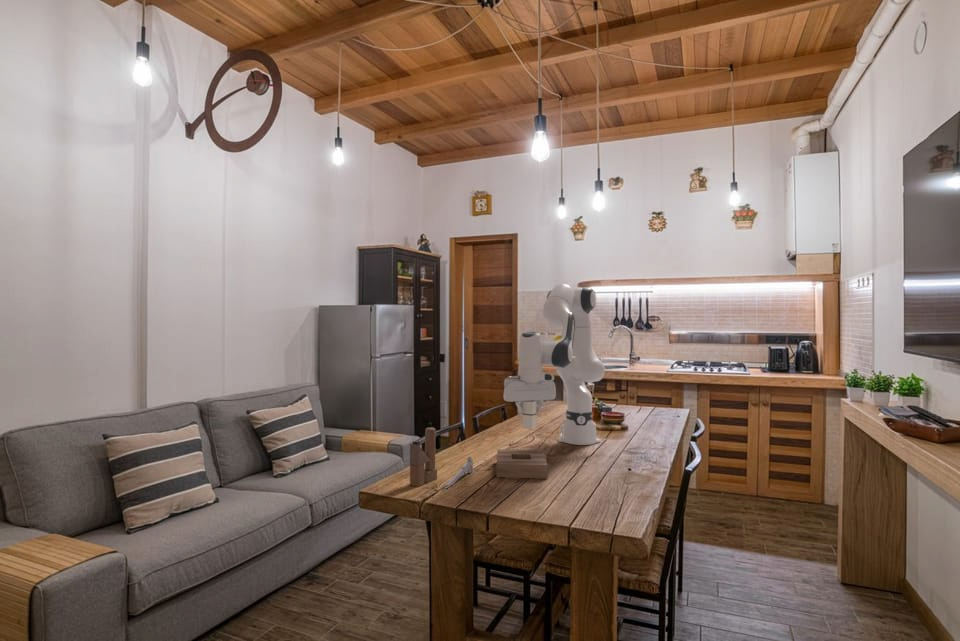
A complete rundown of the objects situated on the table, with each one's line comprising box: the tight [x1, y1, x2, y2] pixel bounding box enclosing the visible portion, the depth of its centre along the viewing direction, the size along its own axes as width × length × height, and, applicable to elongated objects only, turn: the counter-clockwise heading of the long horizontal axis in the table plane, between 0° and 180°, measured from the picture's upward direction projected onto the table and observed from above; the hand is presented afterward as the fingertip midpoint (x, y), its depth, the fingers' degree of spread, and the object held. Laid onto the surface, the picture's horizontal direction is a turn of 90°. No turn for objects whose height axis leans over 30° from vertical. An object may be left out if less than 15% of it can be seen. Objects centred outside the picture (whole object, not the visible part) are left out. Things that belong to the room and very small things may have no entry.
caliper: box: [444, 456, 474, 489], centre depth 178 cm, size 20×1×6 cm, turn 156°
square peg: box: [521, 400, 538, 430], centre depth 190 cm, size 4×4×10 cm
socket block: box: [496, 448, 549, 480], centre depth 190 cm, size 20×18×5 cm
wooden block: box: [409, 426, 438, 488], centre depth 176 cm, size 4×11×18 cm, turn 147°
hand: (529, 412), depth 190 cm, fingers closed on square peg, 6 cm apart
